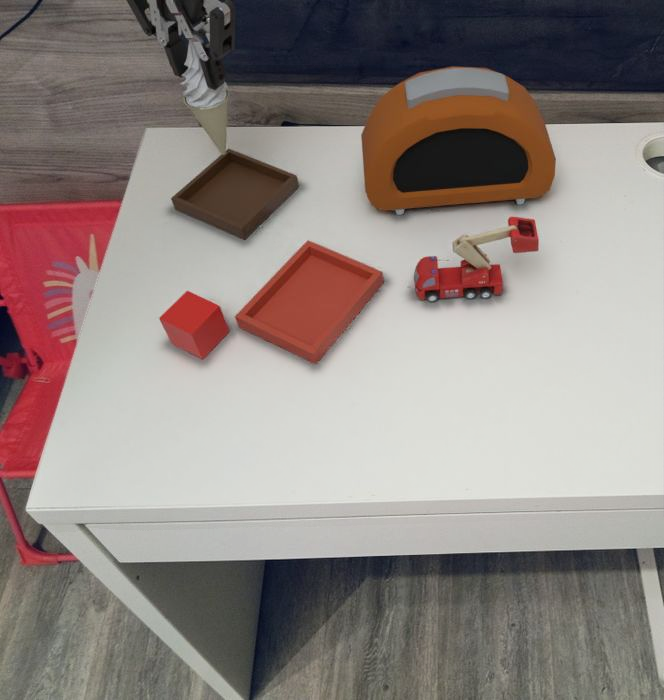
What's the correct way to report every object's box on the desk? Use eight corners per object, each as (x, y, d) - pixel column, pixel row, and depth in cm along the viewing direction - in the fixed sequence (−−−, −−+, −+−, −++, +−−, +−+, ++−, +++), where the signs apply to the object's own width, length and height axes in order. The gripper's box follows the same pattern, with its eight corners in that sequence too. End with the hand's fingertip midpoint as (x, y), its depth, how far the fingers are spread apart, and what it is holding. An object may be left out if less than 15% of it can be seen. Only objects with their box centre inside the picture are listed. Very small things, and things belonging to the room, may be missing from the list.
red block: (203, 359, 84) (191, 334, 80) (171, 344, 85) (158, 318, 81) (229, 331, 86) (219, 305, 82) (198, 316, 87) (187, 290, 84)
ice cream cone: (251, 144, 94) (221, 29, 82) (233, 170, 91) (198, 55, 80) (214, 137, 95) (178, 22, 83) (194, 162, 92) (155, 48, 80)
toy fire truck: (414, 281, 90) (409, 221, 83) (530, 275, 91) (536, 214, 83) (415, 303, 88) (411, 243, 81) (533, 296, 89) (540, 236, 81)
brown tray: (244, 240, 95) (241, 228, 93) (175, 209, 98) (170, 198, 96) (299, 186, 100) (296, 175, 99) (231, 159, 104) (228, 148, 102)
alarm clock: (369, 221, 97) (354, 108, 83) (365, 174, 102) (350, 60, 89) (552, 205, 98) (566, 92, 85) (539, 160, 104) (551, 46, 90)
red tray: (315, 364, 83) (313, 353, 82) (238, 327, 86) (234, 316, 85) (383, 282, 90) (382, 271, 89) (310, 251, 93) (307, 239, 92)
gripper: (65, -85, 72) (128, 78, 85) (182, -49, 68) (229, 116, 81) (123, -116, 76) (174, 45, 89) (237, -83, 72) (273, 80, 85)
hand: (200, 78), depth 85 cm, fingers closed on ice cream cone, 4 cm apart
